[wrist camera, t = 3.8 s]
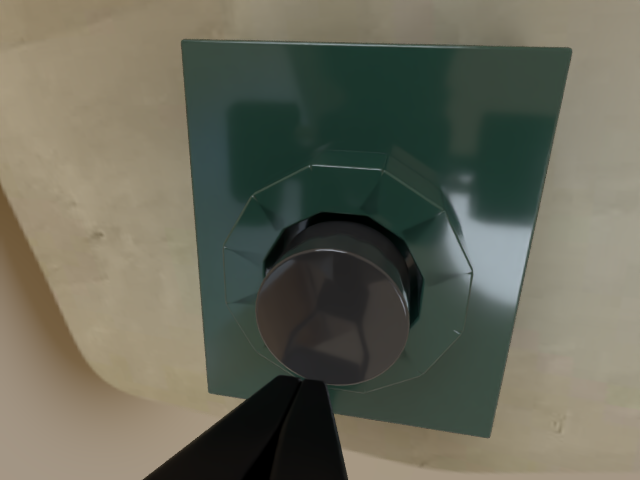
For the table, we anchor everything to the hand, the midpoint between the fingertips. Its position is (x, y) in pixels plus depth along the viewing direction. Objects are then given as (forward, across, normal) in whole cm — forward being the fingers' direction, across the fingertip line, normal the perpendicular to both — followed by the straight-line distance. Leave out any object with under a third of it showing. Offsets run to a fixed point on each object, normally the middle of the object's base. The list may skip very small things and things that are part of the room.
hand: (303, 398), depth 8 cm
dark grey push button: (+5, 0, 0) cm, 5 cm away
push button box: (+10, 0, 0) cm, 10 cm away
